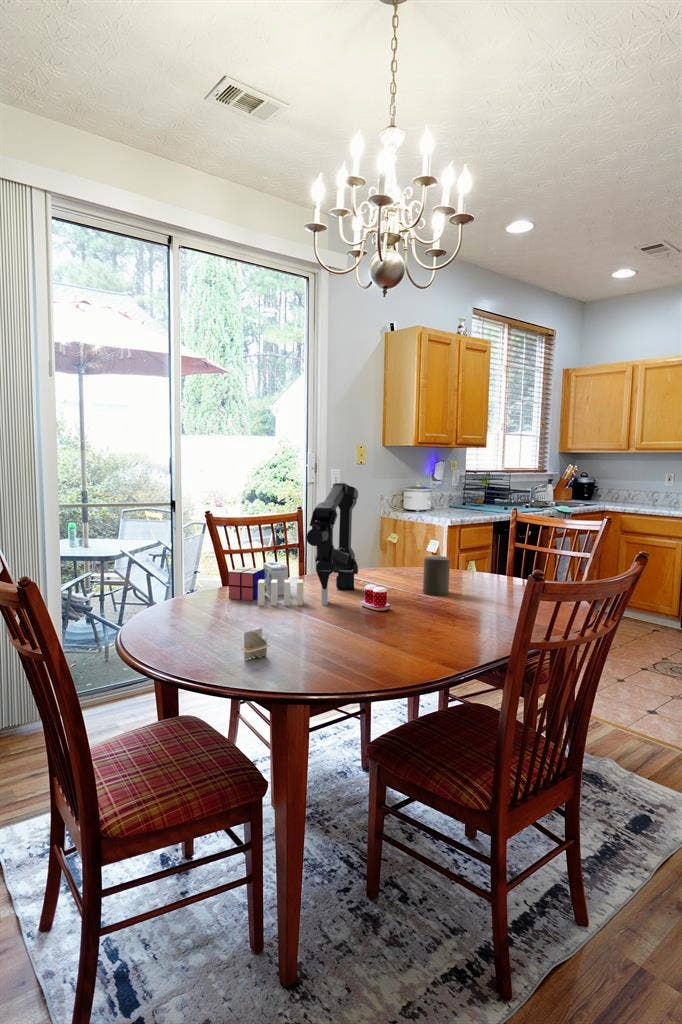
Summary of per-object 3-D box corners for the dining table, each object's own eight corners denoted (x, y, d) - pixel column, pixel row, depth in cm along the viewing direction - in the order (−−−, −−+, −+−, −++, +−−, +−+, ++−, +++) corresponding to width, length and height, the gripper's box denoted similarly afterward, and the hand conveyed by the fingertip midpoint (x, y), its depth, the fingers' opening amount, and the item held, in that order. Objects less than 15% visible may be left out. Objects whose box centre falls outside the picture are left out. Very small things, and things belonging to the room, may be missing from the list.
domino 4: (303, 601, 207) (303, 579, 206) (302, 605, 202) (303, 582, 201) (297, 601, 207) (297, 579, 206) (297, 605, 202) (297, 582, 201)
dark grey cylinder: (431, 596, 216) (433, 556, 215) (418, 591, 225) (419, 552, 224) (453, 595, 220) (455, 555, 219) (439, 589, 229) (441, 551, 227)
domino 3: (290, 601, 207) (290, 579, 206) (289, 605, 202) (289, 582, 201) (284, 601, 207) (284, 579, 206) (284, 605, 202) (284, 582, 201)
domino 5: (321, 605, 203) (321, 582, 202) (321, 601, 208) (321, 579, 207) (327, 605, 203) (327, 582, 202) (327, 601, 208) (327, 579, 207)
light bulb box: (262, 590, 224) (262, 562, 223) (279, 588, 227) (279, 561, 226) (271, 596, 215) (271, 567, 214) (288, 594, 218) (288, 566, 217)
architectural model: (270, 659, 149) (270, 630, 148) (248, 665, 144) (248, 636, 143) (262, 655, 151) (262, 627, 150) (240, 662, 146) (240, 633, 145)
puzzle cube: (253, 601, 207) (253, 573, 206) (228, 599, 210) (228, 571, 209) (265, 595, 217) (265, 568, 216) (240, 593, 220) (240, 566, 219)
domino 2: (277, 601, 207) (277, 579, 206) (276, 605, 202) (276, 582, 201) (271, 601, 207) (271, 579, 206) (270, 605, 202) (270, 582, 201)
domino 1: (264, 601, 206) (264, 579, 206) (263, 605, 201) (263, 582, 201) (259, 601, 206) (259, 579, 206) (257, 605, 201) (257, 582, 201)
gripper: (349, 546, 194) (349, 592, 196) (346, 538, 213) (345, 580, 214) (316, 546, 194) (315, 592, 195) (315, 538, 212) (315, 580, 214)
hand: (324, 586), depth 204 cm, fingers open, 9 cm apart
